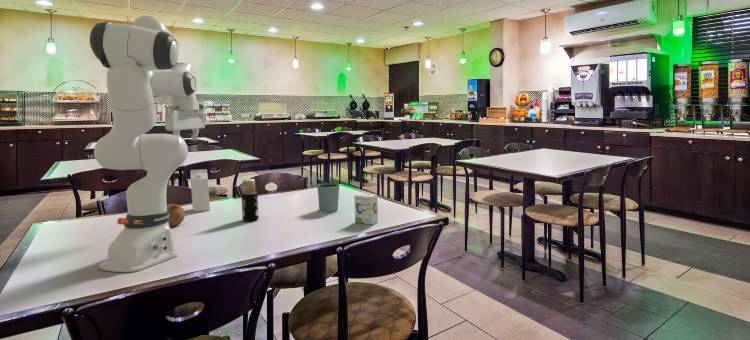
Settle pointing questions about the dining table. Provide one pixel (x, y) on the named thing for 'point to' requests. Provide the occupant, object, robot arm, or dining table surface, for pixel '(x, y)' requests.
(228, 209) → the dining table surface
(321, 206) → the grey green pot
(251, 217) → the beverage can
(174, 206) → the onion
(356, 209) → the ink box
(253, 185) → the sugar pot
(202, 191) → the milk carton
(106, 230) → the dining table surface
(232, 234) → the dining table surface
